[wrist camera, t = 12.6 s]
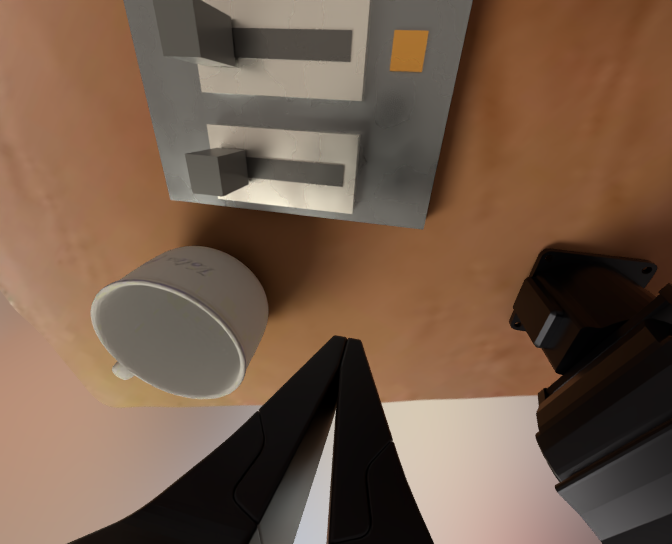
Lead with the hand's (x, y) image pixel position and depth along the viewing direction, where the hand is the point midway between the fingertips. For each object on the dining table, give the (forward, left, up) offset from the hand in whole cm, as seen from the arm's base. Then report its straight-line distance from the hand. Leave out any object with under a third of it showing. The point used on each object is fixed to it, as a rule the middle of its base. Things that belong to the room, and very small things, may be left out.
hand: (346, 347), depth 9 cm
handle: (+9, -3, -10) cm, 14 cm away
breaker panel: (+6, -9, -13) cm, 17 cm away
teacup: (+14, +9, -13) cm, 21 cm away
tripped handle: (+9, -9, -10) cm, 16 cm away
